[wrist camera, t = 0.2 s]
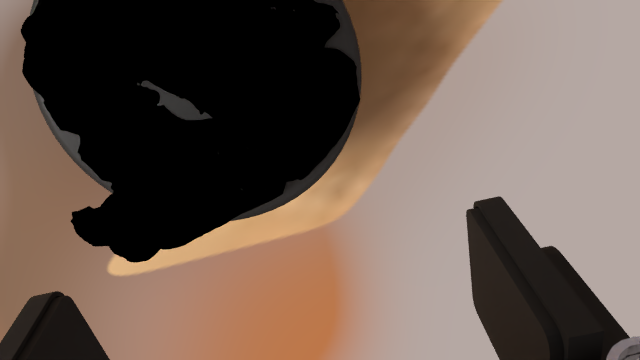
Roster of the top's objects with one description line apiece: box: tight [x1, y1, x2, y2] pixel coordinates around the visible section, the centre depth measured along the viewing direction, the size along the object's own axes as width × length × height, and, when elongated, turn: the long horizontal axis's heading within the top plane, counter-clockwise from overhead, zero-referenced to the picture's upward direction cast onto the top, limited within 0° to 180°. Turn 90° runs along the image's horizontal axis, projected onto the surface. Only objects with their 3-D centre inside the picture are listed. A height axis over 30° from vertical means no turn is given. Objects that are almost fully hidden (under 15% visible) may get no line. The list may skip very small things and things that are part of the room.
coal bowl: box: [21, 0, 361, 262], centre depth 30 cm, size 20×20×19 cm
